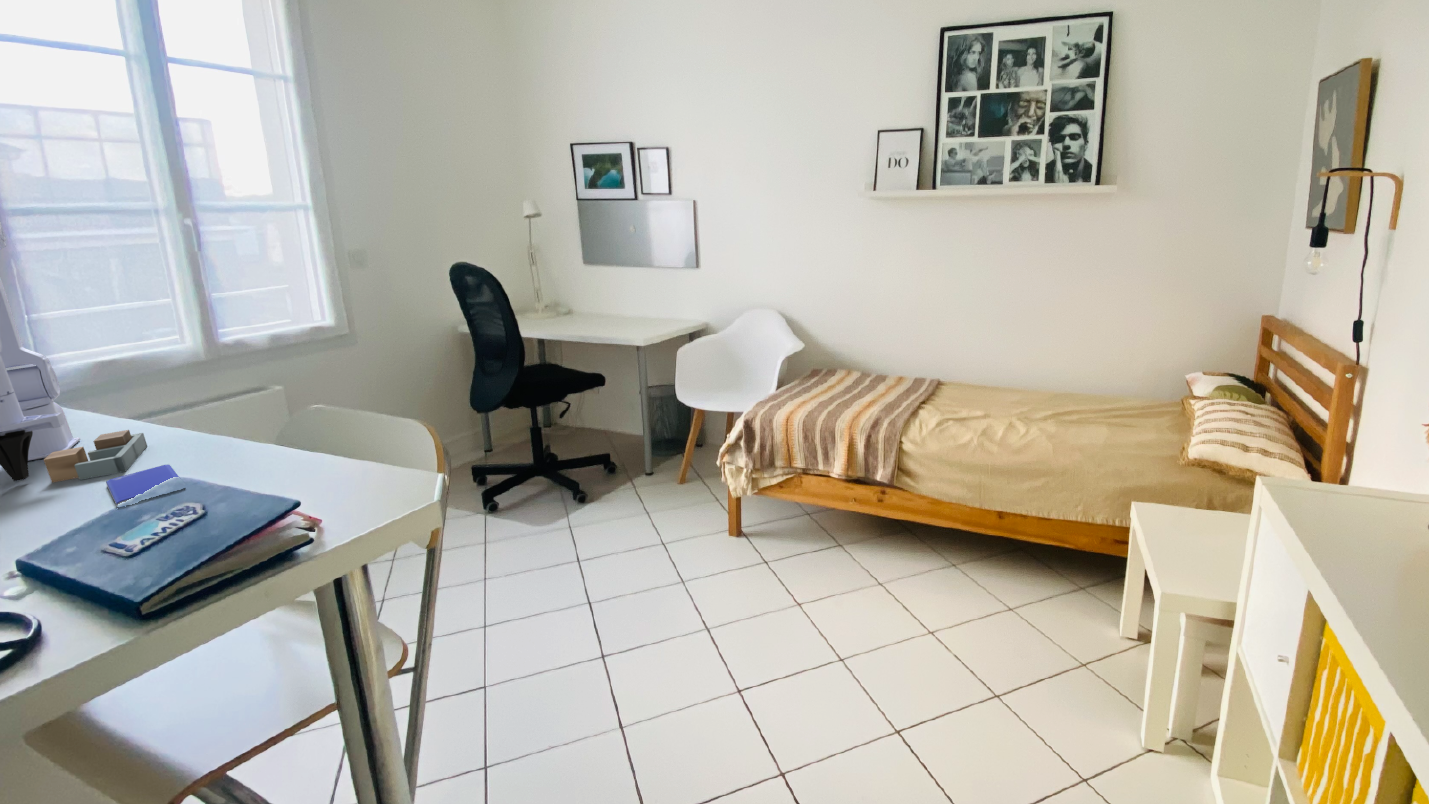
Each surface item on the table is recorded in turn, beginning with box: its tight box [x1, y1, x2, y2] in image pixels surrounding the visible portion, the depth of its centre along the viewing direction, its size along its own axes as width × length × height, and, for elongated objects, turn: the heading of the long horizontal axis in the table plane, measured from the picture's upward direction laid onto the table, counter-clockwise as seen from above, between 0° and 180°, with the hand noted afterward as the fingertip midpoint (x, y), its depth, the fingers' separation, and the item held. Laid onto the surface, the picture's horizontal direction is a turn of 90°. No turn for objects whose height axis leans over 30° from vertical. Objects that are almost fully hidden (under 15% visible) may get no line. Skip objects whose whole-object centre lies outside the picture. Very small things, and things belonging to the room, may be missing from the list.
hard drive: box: [105, 464, 180, 506], centre depth 110 cm, size 2×8×12 cm
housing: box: [74, 432, 148, 481], centre depth 122 cm, size 14×6×2 cm, turn 25°
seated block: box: [93, 429, 132, 450], centre depth 125 cm, size 4×4×4 cm
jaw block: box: [43, 446, 89, 483], centre depth 117 cm, size 4×4×4 cm
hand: (21, 478), depth 115 cm, fingers closed
